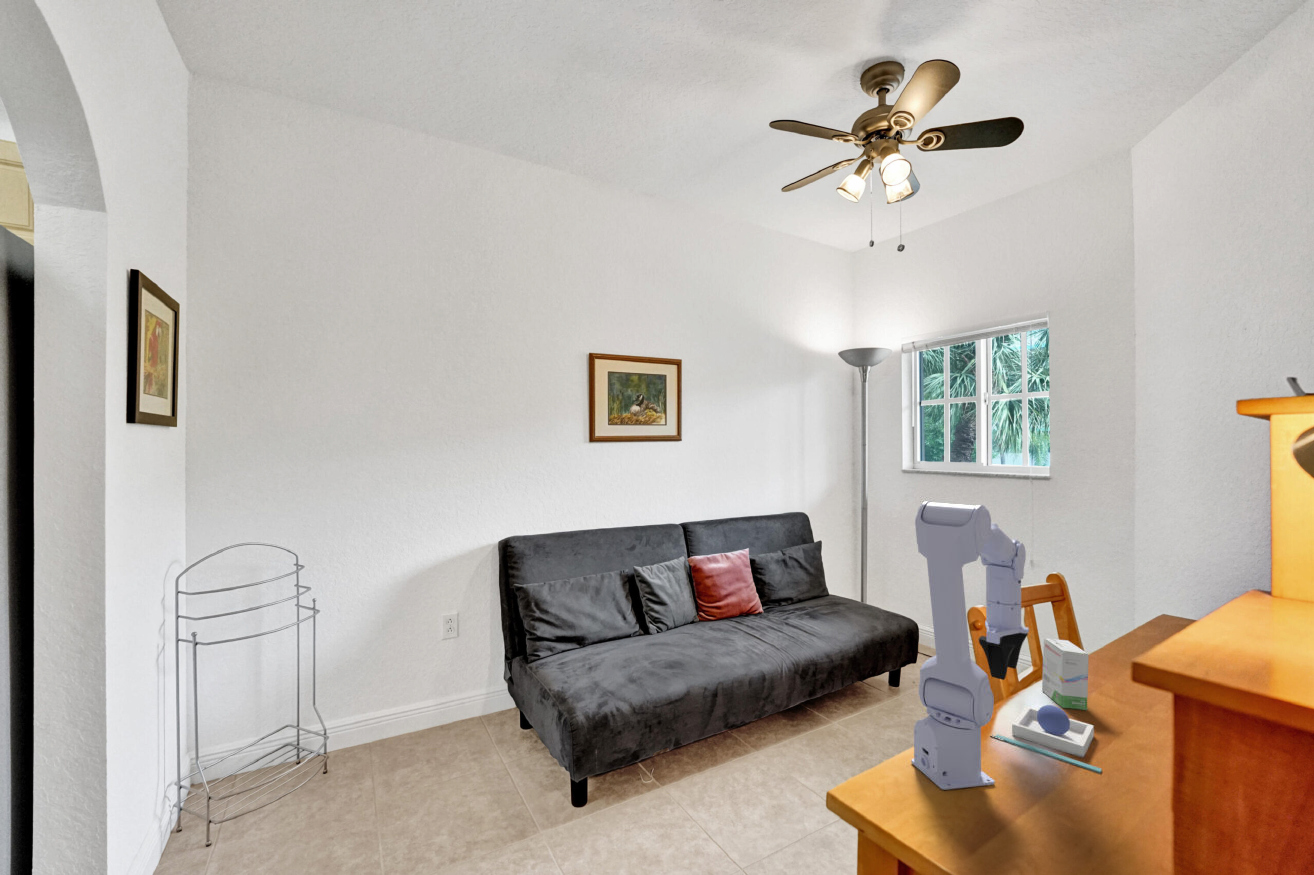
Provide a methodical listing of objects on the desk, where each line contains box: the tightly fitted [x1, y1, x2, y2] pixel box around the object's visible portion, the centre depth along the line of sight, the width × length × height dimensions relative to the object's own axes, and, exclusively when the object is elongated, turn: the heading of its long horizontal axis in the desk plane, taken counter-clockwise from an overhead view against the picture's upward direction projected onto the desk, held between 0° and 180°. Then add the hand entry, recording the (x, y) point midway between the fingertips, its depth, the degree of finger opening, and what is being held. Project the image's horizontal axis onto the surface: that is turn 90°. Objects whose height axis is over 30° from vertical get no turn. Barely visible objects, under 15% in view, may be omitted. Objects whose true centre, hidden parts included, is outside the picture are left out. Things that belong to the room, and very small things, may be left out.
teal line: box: [992, 734, 1102, 774], centre depth 96 cm, size 16×1×1 cm, turn 44°
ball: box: [1037, 704, 1070, 735], centre depth 102 cm, size 5×5×5 cm
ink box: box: [1041, 637, 1089, 711], centre depth 117 cm, size 9×5×12 cm, turn 168°
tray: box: [1011, 705, 1095, 759], centre depth 102 cm, size 11×11×2 cm
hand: (1003, 672), depth 105 cm, fingers open, 7 cm apart
